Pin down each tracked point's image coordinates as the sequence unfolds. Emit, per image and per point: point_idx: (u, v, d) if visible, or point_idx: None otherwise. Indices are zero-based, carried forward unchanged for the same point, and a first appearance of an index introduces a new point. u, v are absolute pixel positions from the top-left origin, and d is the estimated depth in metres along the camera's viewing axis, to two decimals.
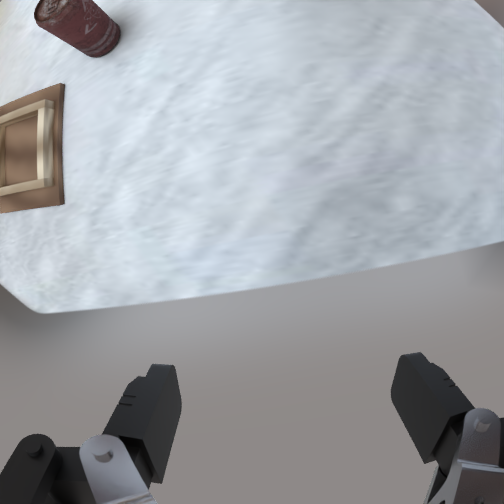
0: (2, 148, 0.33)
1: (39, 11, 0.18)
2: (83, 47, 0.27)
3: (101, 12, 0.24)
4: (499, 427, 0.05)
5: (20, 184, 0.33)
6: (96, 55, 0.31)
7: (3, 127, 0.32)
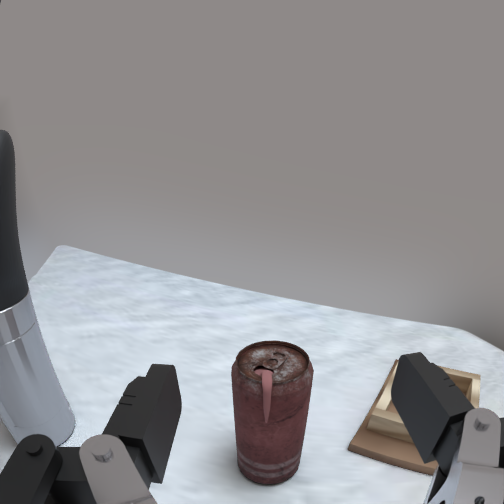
0: None
1: (299, 370, 0.20)
2: None
3: None
4: (499, 427, 0.05)
5: None
6: None
7: None
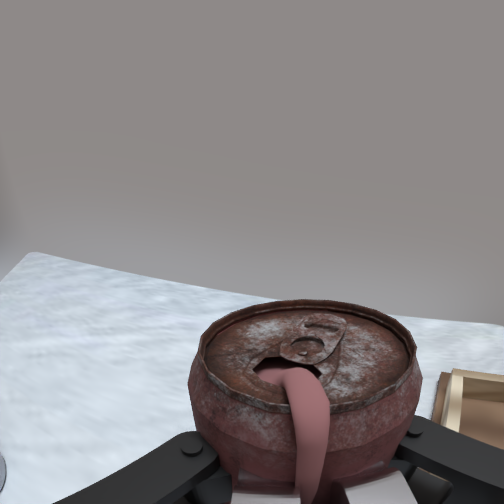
0: None
1: (391, 358, 0.06)
2: None
3: None
4: None
5: (494, 379, 0.20)
6: None
7: None
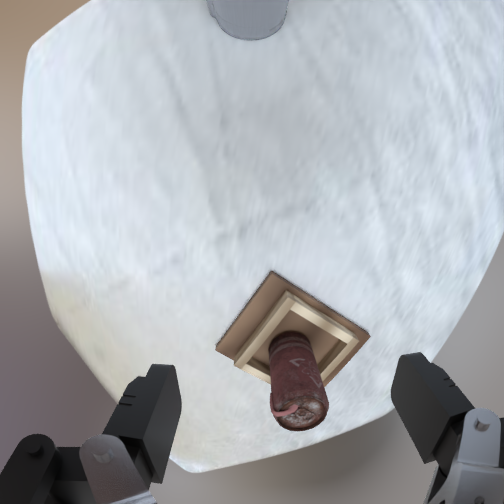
0: (267, 366, 0.42)
1: (292, 425, 0.29)
2: None
3: (305, 358, 0.35)
4: (499, 427, 0.05)
5: (331, 363, 0.40)
6: None
7: None
